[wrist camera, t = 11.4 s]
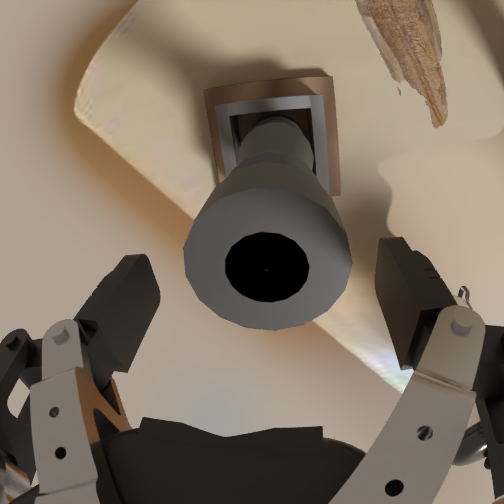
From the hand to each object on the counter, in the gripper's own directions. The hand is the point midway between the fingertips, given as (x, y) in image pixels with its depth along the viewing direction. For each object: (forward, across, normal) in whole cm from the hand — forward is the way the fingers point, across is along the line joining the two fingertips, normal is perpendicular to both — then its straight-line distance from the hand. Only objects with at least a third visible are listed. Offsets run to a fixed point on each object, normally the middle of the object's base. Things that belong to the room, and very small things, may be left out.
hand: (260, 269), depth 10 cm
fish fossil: (+27, -17, -13) cm, 35 cm away
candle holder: (+25, 0, 0) cm, 25 cm away
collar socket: (+26, 0, 0) cm, 26 cm away
